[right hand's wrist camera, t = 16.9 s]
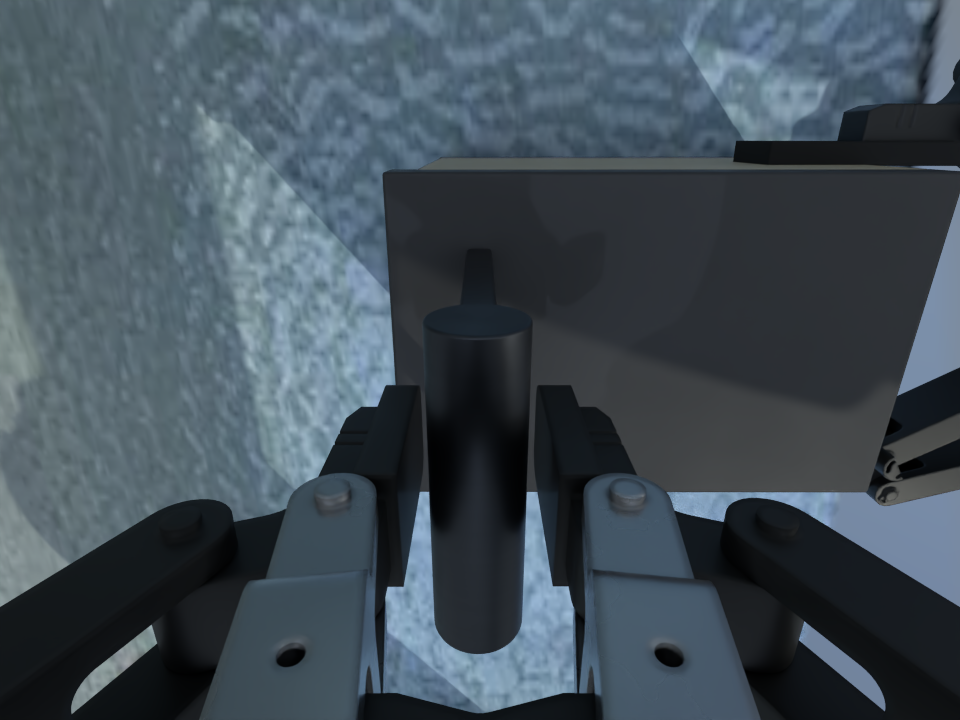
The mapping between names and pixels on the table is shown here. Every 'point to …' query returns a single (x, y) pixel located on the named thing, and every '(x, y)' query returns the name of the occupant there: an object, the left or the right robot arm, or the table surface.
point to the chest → (615, 163)
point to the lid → (648, 336)
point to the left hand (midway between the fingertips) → (725, 301)
